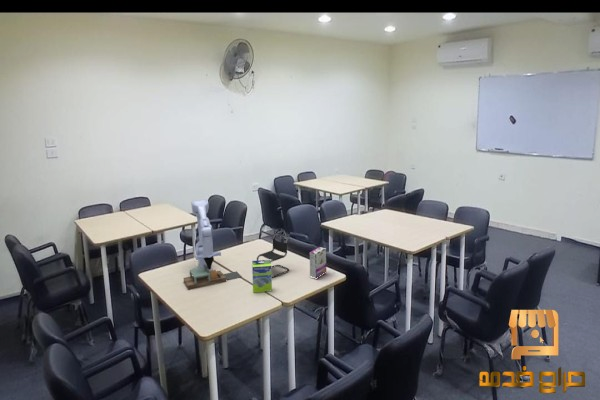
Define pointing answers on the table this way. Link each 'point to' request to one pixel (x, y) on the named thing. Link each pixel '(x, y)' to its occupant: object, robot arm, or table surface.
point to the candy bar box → (317, 262)
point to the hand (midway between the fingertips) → (209, 269)
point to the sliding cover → (200, 273)
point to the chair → (280, 247)
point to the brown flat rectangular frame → (203, 281)
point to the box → (262, 276)
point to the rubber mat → (232, 275)
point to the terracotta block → (213, 274)
